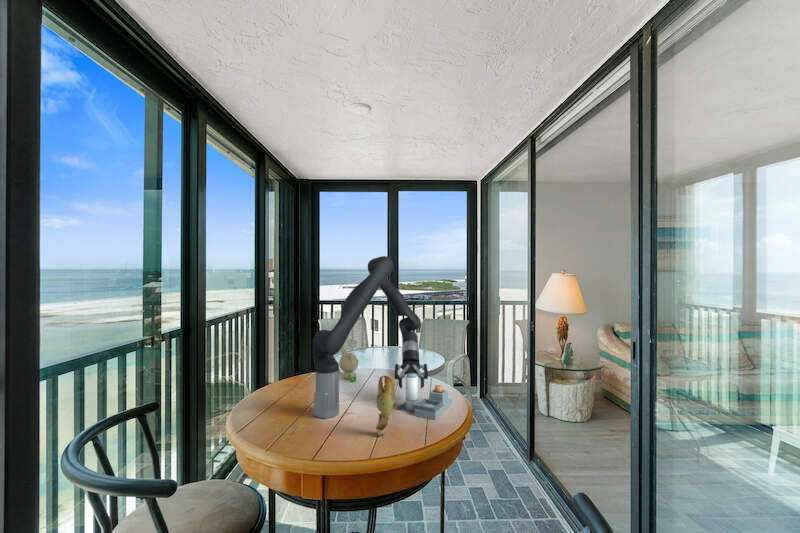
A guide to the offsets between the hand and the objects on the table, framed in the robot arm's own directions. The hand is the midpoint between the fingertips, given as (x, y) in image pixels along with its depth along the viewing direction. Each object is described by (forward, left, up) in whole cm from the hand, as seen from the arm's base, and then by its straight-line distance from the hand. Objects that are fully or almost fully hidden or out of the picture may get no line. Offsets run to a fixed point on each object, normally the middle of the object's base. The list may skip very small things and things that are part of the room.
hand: (411, 387), depth 147 cm
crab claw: (-26, -3, -9) cm, 27 cm away
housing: (+3, -9, -9) cm, 13 cm away
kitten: (+22, +49, -9) cm, 55 cm away
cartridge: (0, 0, -8) cm, 8 cm away
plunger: (+8, -9, -3) cm, 12 cm away
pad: (+1, +1, -9) cm, 9 cm away
